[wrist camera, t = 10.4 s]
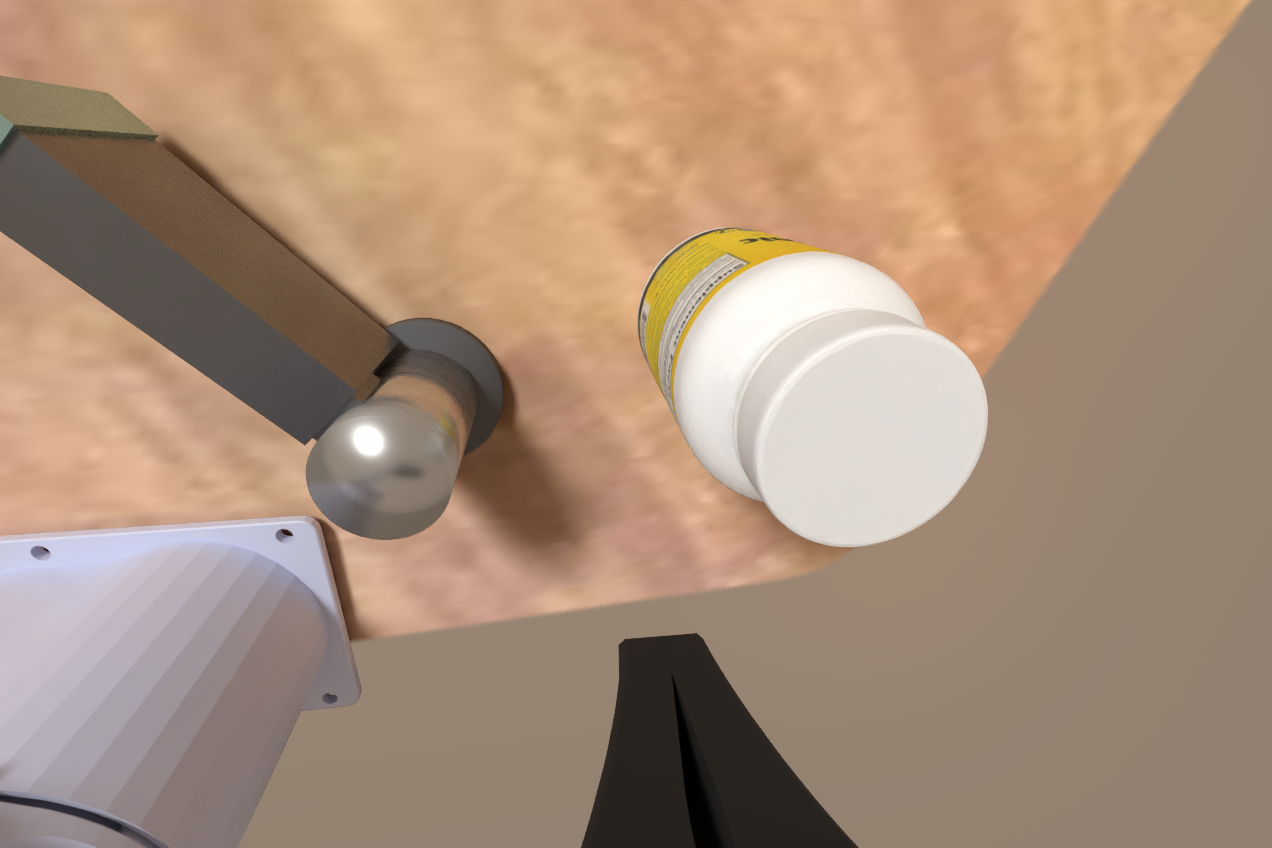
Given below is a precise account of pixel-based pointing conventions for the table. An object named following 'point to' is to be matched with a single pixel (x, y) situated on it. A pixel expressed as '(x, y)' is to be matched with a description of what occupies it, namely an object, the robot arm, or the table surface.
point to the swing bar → (233, 305)
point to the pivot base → (467, 355)
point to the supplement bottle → (811, 384)
